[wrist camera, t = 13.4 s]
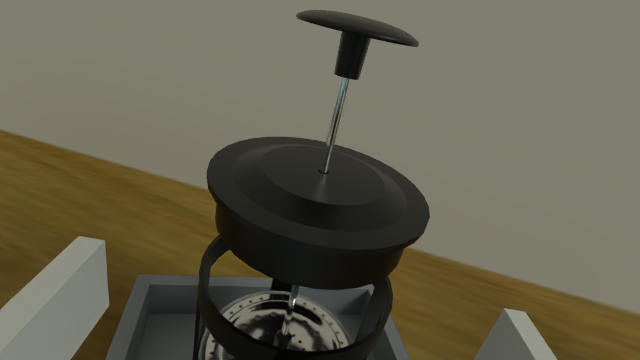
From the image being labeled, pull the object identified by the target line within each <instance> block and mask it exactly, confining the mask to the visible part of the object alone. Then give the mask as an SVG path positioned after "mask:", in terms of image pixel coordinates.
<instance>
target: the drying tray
mask: <svg viewBox="0 0 640 360" xmlns="http://www.w3.org/2000/svg"><path fill="white" fill-rule="evenodd" d="M272 279H273V278H253V277H220V276H210V278H209V288H208V293H209V296H210V298H211V300H212V302H213V303H214V304H215V306H216V307H217V309H218V310H219V311H221V310H222V309H223V308H224V307H225V306H227V305H228V304H230V303H231V302H233V301H234V300H236V299H239V298H241V297H243V296H245V295H249V294H253V293H257V292H263V291H270V289H271V284H272ZM198 283H199V276H187V275H154V274H138V275H137V278H136V280H135V283H134V286H133V288H132V291H131V293H130V296H129V299H128V301H127V304H126V306H125V309H124V312H123V314H122V317H121V319H120V322H119V325H118V327H117V330H116V332H115V335H114V338H113V340H112V343H111V345H110V348H109V351H108V353H107V356H106V358H105V360H193V348H194V335H195V322H196V309H197V296H198ZM373 290H374V286H373V285H372V284H370V285H366V286H363V287H360V288H354V289H345V290H322V289H312V288H307V287H302V286H300V287H299V291H298V294H299V295H302V296H305V297H307V298H310V299H312V300H314V301H315V302H317V303H319V304H321V305H322V306H324V307H325V308H326V309H328V310H329V311H330V312H331V313H332V314H333V315H334V316H335V317H336V318H337V319H338V320H339V321H340V322H341V324H342V325H343V326H344V328H345V329H346V331H347V332H348V334H349V337H350V339H351V341H352V343H354V341H355V339H356V336H357V333H358V331H359V328H360V325H361V323H362V320H363V317H364V315H365V312H366V309H367V306H368V304H369V301H370V298H371V296H372V293H373ZM206 328H207V327H206V326H205V330H206ZM204 332H205V331H204ZM366 360H410V358H409V356H408V353H407V351H406V349H405V347H404V344H403V342H402V340H401V338H400V335H399V333H398V331H397V328H396V326H395V324H394V322H393V319H392V317H391V315H390V314H389V317H388V319H387V322H386V324H385V327H384V329H383V332H382V334H381V336H380V339H379V341H378V343H377V344H376V346H375V347H374V348H373V350H372V351H371V352H370V354H369V355H368V356H367V359H366Z"/></svg>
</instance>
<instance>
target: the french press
mask: <svg viewBox="0 0 640 360" xmlns="http://www.w3.org/2000/svg"><path fill="white" fill-rule="evenodd" d="M296 17H297V18H298V19H300V20H303V21H307V22H310V23H313V24H316V25H320V26H324V27H327V28H331V29H335V30H339V31H342V34H341V39H340V45H339V51H338V56H337V62H336V67H335V73H334V74H336V75H338V76H340V77H341V80H340V84H339V88H338V92H337V97H336V101H335V105H334V110H333V114H332V118H331V123H330V127H329V131H328V135H327V139H326V142H322V141H317V140H310V139H303V138H292V137H262V138H252V139H248V140H244V141H239V142H236V143H234V144H231V145H228V146H226V147H225V148H223V149H222V150H220V151H218V152H217V153H216V154H215V155H214V157H213V158H212V159H211V160H210V163H209V166H208V169H207V183H208V189H209V191H210V193H211V194H212V196H213V198H214V200H215V202H216V203H217V205H216V216H215V219H216V226H217V230H218V232H219V234H220V235H218V236H217V237H216V238H215V239H214V240H213V242H212V243H211V244H210V245H209V246H208V248H207V250H206V252H205V253H204V255H203V257H202V261H201V266H200V270H199V283H198V296H197V309H196V322H195V335H194V348H193V360H366V359H367V356H368V355H369V354H370V352H371V351H372V350H373V348H374V347H375V346H376V344H377V343H378V341H379V339H380V336H381V334H382V332H383V329H384V327H385V324H386V322H387V319H388V317H389V314H390V312H391V309H392V299H393V293H392V288H391V283H390V280H389V278H388V275H389V274H390V273H391V272H392V271H393V270H394V269H395V267H396V266H397V265H398V262H399V260H400V258H401V255H402V253H403V250H404V248H405V247H407V246H409V245H411V244H413V243H415V241H416V240H418V239H419V238H420V236H421V235H422V234H423V233H424V231H425V228H426V226H427V223H428V220H429V218H430V215H429V206H428V204H427V202H426V200H425V198H424V196H423V195H422V193H421V192H420V191H419V190H418V188H416V186H415V185H414V184H413V183H412V182H411V181H409V180H408V179H407V178H406V177H405V176H403V175H402V174H400V173H399V172H398V171H396V170H395V169H393V168H391V167H389V166H388V165H386V164H384V163H382V162H381V161H378V160H376V159H374V158H372V157H370V156H367V155H365V154H363V153H360V152H357V151H354V150H352V149H349V148H345V147H342V146H338V145H335V142H336V138H337V134H338V129H339V125H340V121H341V117H342V113H343V109H344V105H345V101H346V97H347V93H348V89H349V85H350V81H351V79H354V80H358V79H359V76H360V73H361V70H362V66H363V63H364V60H365V56H366V53H367V50H368V46H369V43H370V40H371V38H372V39H377V40H381V41H386V42H391V43H396V44H401V45H406V46H414V47H417V46H418V45H419V42H418V41H417V40H416V39H415V38H414V37H412V36H411V35H410V34H408V33H407V32H405V31H403V30H401V29H399V28H396V27H394V26H391V25H388V24H386V23H383V22H379V21H376V20H372V19H369V18H365V17H361V16H356V15H352V14H347V13H342V12H334V11H326V10H309V11H304V12H300V13H298V14H297V15H296ZM229 249H230V250H231V251H232V253H233V254H234V255H235V256H237V257H238V258H239V259H241V260H242V261H243V262H245V263H246V264H247V265H249V266H250V267H252V268H254V269H255V270H257V271H259V272H261V273H263V274H265V275H267V276H269V277H271V278H273V279H272V284H271V289H270V291H263V292H257V293H253V294H249V295H245V296H243V297H241V298H239V299H236V300H234V301H233V302H231V303H230V304H228V305H227V306H225V307H224V308H223V309H222V310H221V311H219V310H218V309H217V307H216V306H215V304H214V303H213V302H212V300H211V298H210V296H209V293H208V288H209V278H210V267H211V266H212V265H213V264H214V263H215V261H216V260H217V259H218V258H219V257H220V256H221V255H223V254H224V253H225V252H226V251H228V250H229ZM370 284H372V285H373V286H374V290H373V293H372V296H371V298H370V301H369V304H368V306H367V309H366V312H365V315H364V317H363V320H362V323H361V325H360V328H359V331H358V333H357V336H356V339H355V341H354V343H352V341H351V339H350V337H349V334H348V332H347V331H346V329H345V328H344V326H343V325H342V324H341V322H340V321H339V320H338V319H337V318H336V317H335V316H334V315H333V314H332V313H331V312H330V311H329V310H328V309H326V308H325V307H324V306H322V305H321V304H319V303H317V302H315V301H314V300H312V299H310V298H307V297H305V296H302V295H299V294H298V291H299V287H300V286H302V287H307V288H312V289H322V290H345V289H354V288H360V287H363V286H366V285H370ZM205 326H206V327H207V328H206V330H205ZM204 331H205V332H204Z"/></svg>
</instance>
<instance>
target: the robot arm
mask: <svg viewBox="0 0 640 360" xmlns="http://www.w3.org/2000/svg"><path fill="white" fill-rule="evenodd" d="M108 307H109V294H108V279H107V265H106V250H105V240H99V239H94V238H88V237H82V236H78V237H77V238H76V239H75V240H74V241H73V242H72V243H71V244H70V245H69V246H68V247H67V248H65V249H64V250H63V251H62V252H61V253H60V254H59V255H58V256H57V257H56V258H55V259H54V260H53V261H52V262H51V263H49V264H48V265H47V266H46V267H45V268H44V269H43V270H42V271H41V272H40V273H39V274H38V275H37V276H36V277H34V278H33V279H32V280H31V281H30V282H29V283H28V284H27V285H26V286H25V287H24V288H23V289H22V290H21V291H19V292H18V293H17V294H16V295H15V296H14V297H13V298H12V299H11V300H10V301H9V302H8V303H7V304H6V305H5V306H3V307H2V308H1V309H0V360H71V358H72V357H73V356H74V354H75V353H76V351H77V350H78V349H79V347H80V346H81V344H82V343H83V342H84V340H85V339H86V337H87V336H88V335H89V333H90V332H91V330H92V329H93V328H94V326H95V325H96V323H97V322H98V321H99V319H100V318H101V316H102V315H103V314H104V312H105V311H106V309H107V308H108ZM473 360H557V359H556V357H555V356H554V354H553V353H552V351H551V350H550V348H549V347H548V345H547V344H546V342H545V341H544V339H543V338H542V336H541V335H540V333H539V332H538V330H537V329H536V327H535V326H534V324H533V323H532V321H531V320H530V318H529V317H528V315H527V314H526V312H523V311H517V310H511V309H505V308H504V310H503V311H502V313H501V315H500V316H499V318H498V320H497V321H496V323H495V324H494V326H493V328H492V329H491V331H490V333H489V334H488V336H487V338H486V339H485V341H484V343H483V344H482V346H481V348H480V349H479V351H478V352H477V354H476V356H475V357H474V359H473Z"/></svg>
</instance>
